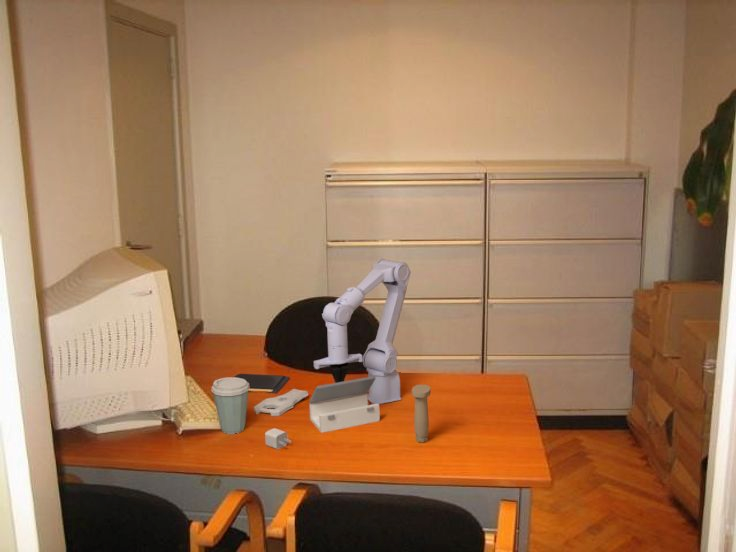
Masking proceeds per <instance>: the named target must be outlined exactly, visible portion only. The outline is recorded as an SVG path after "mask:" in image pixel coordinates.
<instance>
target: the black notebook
mask: <svg viewBox="0 0 736 552" xmlns="http://www.w3.org/2000/svg"><path fill="white" fill-rule="evenodd" d="M234 377H236V378H241V379H244V380H246V381H247V382H248V383H249V386H250V387H249V391H265V392H268V393H267V394H278V393H279V392H280V391H281V390H282V389H283V388H284V387H285V386H286V384H287V383H288V382H289V381H290V379H291V377H290V376H286V375H281V374H279V375H278V374H277V375H276V374H256V373H253V374H252V373H238V374H236V375H235V376H234Z"/></svg>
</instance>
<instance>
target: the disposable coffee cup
mask: <svg viewBox="0 0 736 552" xmlns="http://www.w3.org/2000/svg"><path fill="white" fill-rule="evenodd" d="M249 387H250V386H249V383H248V382H247V381H246V380H244V379H241V378H236V377H235V376H233V377H232V376H230V377H227V376H226V377H221V378H219V379H215V380H214V381H213V383H212V386H211V392H212V395H213V399H214V404H215V409H216V413H217V418H218V422H219V427H220V429H221V432H222V433H223V434H226V433H227V434H226V435H236V434H235V433H237V434H240V433H242V432H244V430H245V426H246V421H247V420H246V419H247V410H248V400H249V392H248V391H249ZM241 431H242V432H241ZM239 432H240V433H239Z"/></svg>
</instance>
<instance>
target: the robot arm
mask: <svg viewBox="0 0 736 552" xmlns="http://www.w3.org/2000/svg"><path fill="white" fill-rule="evenodd" d="M410 276H411V270H410V267H409V265H408V263H407V262H405V261H398V260H397V261H396V260H391V259H386V258H379V259H378V260H377V261H376V262H375V263H374V264H373V265H372V270H371V271H370V272H369V273H368V274H367V275H366V277H364V279H363V280H362V281H361V282H360V283H359V284H358V285H356V287H355V286H350V287H347V288H346V291H345V292H344V293H343V294H342V295H340V296H339V298H338V297H337V298H336V299H335V301H334V302H329V303H328V304H326V305H325V306H324V308H323V311H322V312H323V313H321V316H322V319H323V321H324V322H325V327H326V328H327V329H326V330H327V332H326V333H327V336H326V337H327V355H328V356H327V357H324V358H320V359H317V360H313V367H314V369H315V370H319V369H321V368H328V369H329V371H330V373H331V374H332V375H331V376H332V377H333V380H334V383H338V382H343V381H346V380H345V378H346V376H347V374H348V372H349V370H350V364H351V363H356V362H359V363H362V364H363V366H364V368H366V372H368V373H367V375H368V376H367V377H371V376H375V377H376V379H375V380H374V382H373V384H372V385H371V387H370V389H369V390H368V393H367V398H368V401H369V402H370V403H371V405H372V404H379V405H382V404H387V403H391V402H392V403H393V402H396V401H401V400H402V398H401V378H400V375H399V372H398V371H397V370H396V368H397V361H398V360H397V358H398V351H397V349H396V347H395V346H394V344H393V343H394V340H395V335H396V332H397V328H398V325H399V321H400V317H401V313H402V309H403V305H404V302H405V298H406V293H407V289H408V284H409V281H410ZM381 283H382V284H383V285H384V286H385V287H386V290H387V294H386V295H387V296H386V299H385V304H384V306H383V310H382V314H381V317H380V321H379V322H380V323H379V325H378V329H377V333H376V337H375V339H374V340H373V341H372V342H370V343H368V345H367V348H366V351H365V352H364V354H361V353H353V354H352V353H351V354H349V353H348V352H349V348H348V346H349V344H348V323H349V322H350V320H351V318H352V314H354V311H355V310H357V308H358V307H359V306H361V305H362V304H363V303H364V302H365V296H366V295H367V294H368V293H370V292H371V291H373V289H375V288H376V287H377V286H378V285H379V284H381Z"/></svg>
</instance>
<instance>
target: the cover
mask: <svg viewBox="0 0 736 552" xmlns="http://www.w3.org/2000/svg"><path fill="white" fill-rule="evenodd" d="M375 379H376V377H375V376H371V377H368V376H367V377H361V378H356V379H350V380H344V381H343V382H338V383H335V382H333V383H328V384H323V385H322V384H320V385H317V386H315V389H314V391H313V393H312V395H311V396H310V397H311V398H310V399H309V400H308V401H309V403H308V404H313V403H319V402H324V401H329V400H335V399H340V398H345V397H351V396H356V395H361V394H367V395H368V393H369V389H370V387H371V385H372V384H373V382H374V380H375Z"/></svg>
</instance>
